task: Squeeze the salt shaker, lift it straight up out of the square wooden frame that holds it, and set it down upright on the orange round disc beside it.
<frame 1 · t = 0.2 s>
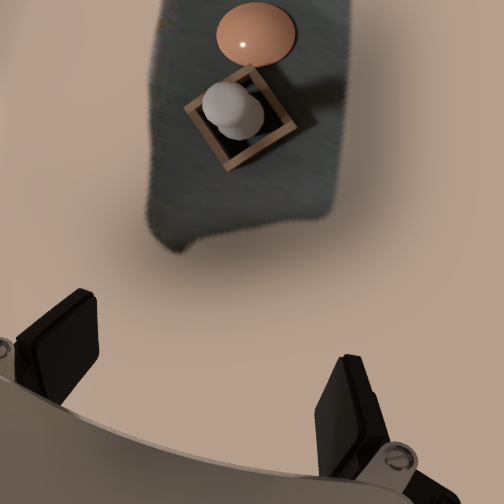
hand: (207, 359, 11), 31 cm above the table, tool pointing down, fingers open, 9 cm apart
orange round disc: (255, 33, 33), on the table
salt shaker: (242, 118, 37), resting in square wooden frame
square wooden frame: (242, 118, 37), on the table
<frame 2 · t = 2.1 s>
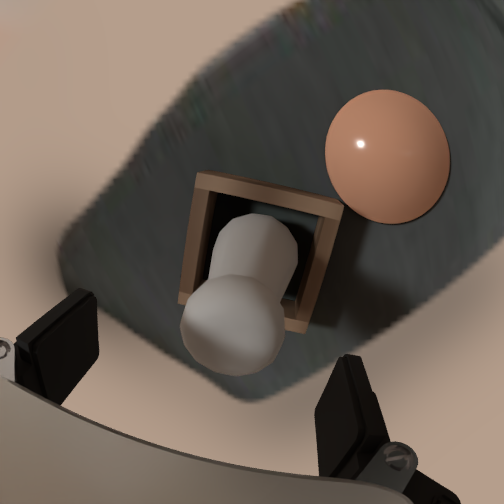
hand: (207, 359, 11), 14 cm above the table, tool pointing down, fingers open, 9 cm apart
orange round disc: (390, 156, 21), on the table
salt shaker: (259, 244, 24), resting in square wooden frame
square wooden frame: (258, 245, 24), on the table
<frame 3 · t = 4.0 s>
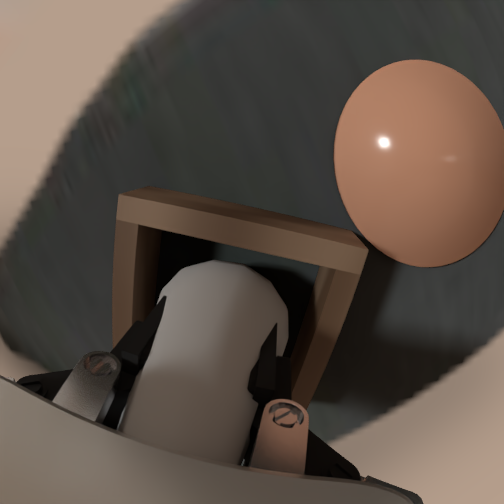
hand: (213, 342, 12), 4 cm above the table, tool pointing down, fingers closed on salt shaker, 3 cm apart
orange round disc: (433, 163, 12), on the table
salt shaker: (229, 299, 16), resting in square wooden frame, touching gripper
square wooden frame: (228, 301, 15), on the table
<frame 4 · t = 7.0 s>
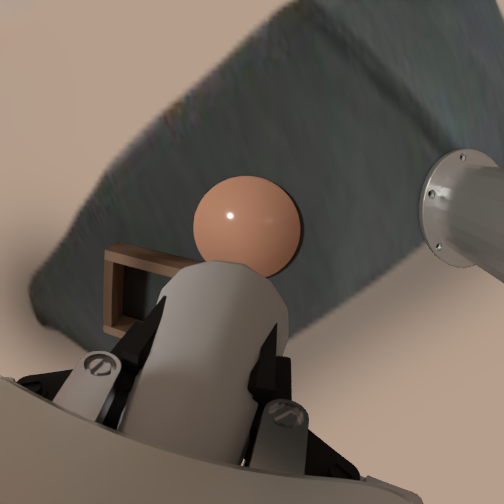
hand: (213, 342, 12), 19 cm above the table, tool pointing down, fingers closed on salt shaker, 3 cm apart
orange round disc: (246, 229, 30), on the table
salt shaker: (229, 299, 16), point 15 cm above the table, touching gripper
square wooden frame: (155, 294, 32), on the table
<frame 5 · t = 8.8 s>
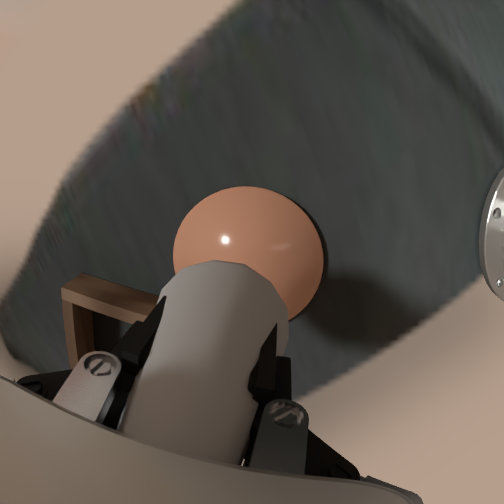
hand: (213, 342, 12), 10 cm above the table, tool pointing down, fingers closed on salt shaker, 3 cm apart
orange round disc: (247, 261, 21), on the table
salt shaker: (229, 300, 16), point 6 cm above the table, touching gripper
square wooden frame: (131, 339, 24), on the table
when the fingers open (5 cm above the table, at t = 10.3 s): salt shaker drops 1 cm, resting on orange round disc.
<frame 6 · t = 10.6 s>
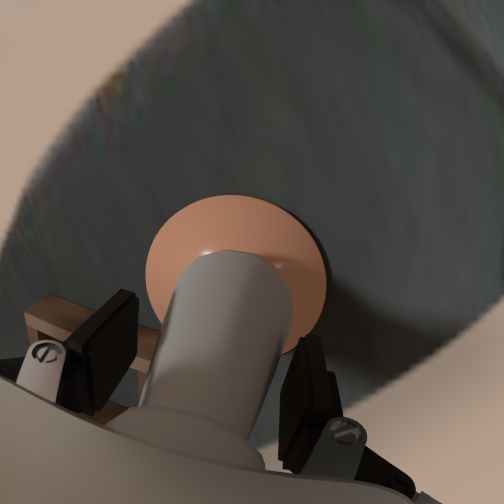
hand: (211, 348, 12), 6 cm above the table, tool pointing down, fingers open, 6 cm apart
orange round disc: (233, 286, 17), on the table
salt shaker: (237, 288, 17), resting on orange round disc
square wooden frame: (106, 367, 20), on the table
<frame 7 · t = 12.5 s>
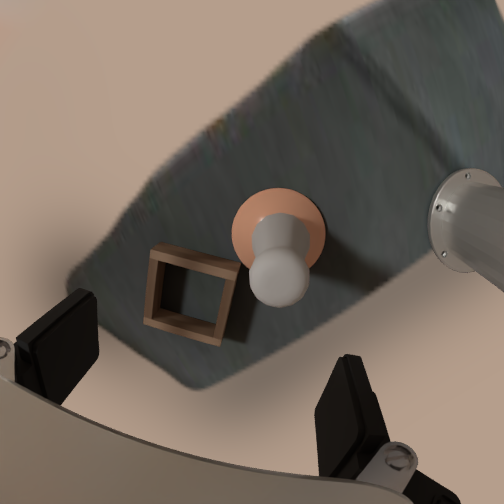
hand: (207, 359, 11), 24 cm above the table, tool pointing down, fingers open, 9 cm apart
orange round disc: (278, 234, 34), on the table
salt shaker: (281, 235, 34), resting on orange round disc
square wooden frame: (193, 289, 37), on the table
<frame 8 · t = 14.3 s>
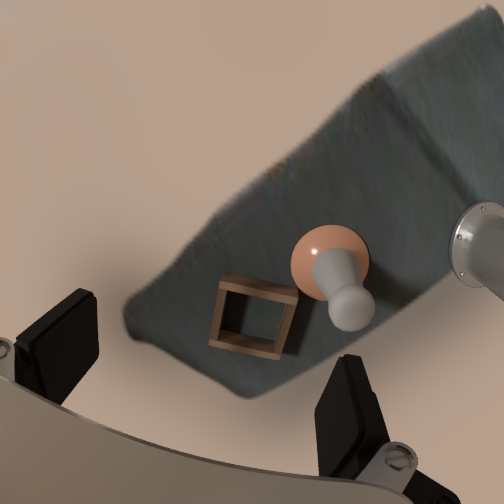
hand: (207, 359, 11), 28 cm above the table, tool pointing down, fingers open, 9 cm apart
orange round disc: (330, 263, 39), on the table
salt shaker: (332, 264, 39), resting on orange round disc
square wooden frame: (253, 312, 42), on the table
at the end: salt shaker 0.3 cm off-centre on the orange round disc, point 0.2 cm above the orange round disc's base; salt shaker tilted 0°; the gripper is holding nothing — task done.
